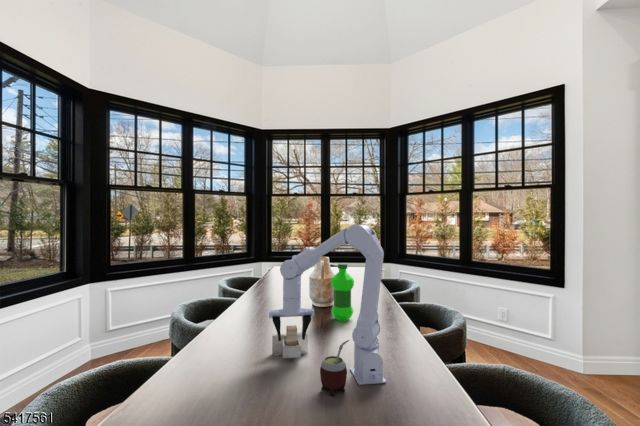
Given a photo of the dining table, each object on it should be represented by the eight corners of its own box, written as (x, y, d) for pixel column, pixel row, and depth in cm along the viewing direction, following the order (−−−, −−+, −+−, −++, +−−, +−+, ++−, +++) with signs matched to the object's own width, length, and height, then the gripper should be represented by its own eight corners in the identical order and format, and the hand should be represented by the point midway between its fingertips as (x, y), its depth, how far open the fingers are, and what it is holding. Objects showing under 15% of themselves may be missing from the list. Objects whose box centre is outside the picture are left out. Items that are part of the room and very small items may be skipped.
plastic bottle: (329, 316, 149) (330, 262, 150) (352, 316, 150) (352, 262, 150) (331, 323, 139) (331, 265, 140) (355, 323, 140) (355, 266, 140)
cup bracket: (310, 362, 101) (311, 342, 101) (272, 365, 99) (272, 344, 99) (307, 351, 109) (307, 332, 109) (272, 353, 107) (272, 334, 107)
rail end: (296, 353, 101) (297, 328, 101) (286, 354, 101) (287, 329, 101) (296, 349, 104) (296, 325, 104) (286, 350, 104) (286, 325, 104)
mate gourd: (322, 382, 89) (322, 328, 89) (350, 385, 88) (351, 330, 88) (317, 397, 81) (318, 338, 82) (348, 400, 80) (349, 340, 80)
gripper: (312, 293, 108) (312, 333, 108) (269, 294, 106) (268, 335, 105) (315, 298, 101) (315, 341, 101) (269, 299, 99) (268, 344, 98)
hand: (291, 339), depth 103 cm, fingers open, 7 cm apart
